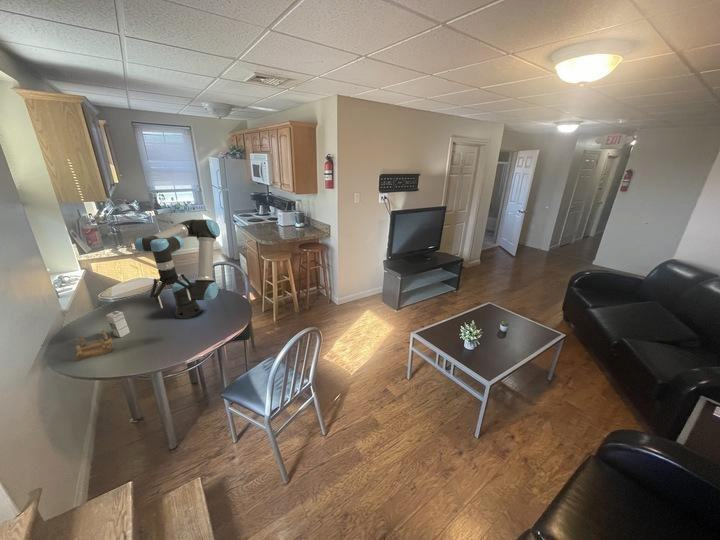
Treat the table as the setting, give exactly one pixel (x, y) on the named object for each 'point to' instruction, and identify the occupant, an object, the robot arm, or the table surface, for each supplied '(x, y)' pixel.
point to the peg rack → (93, 347)
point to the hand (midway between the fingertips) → (176, 303)
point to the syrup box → (118, 323)
